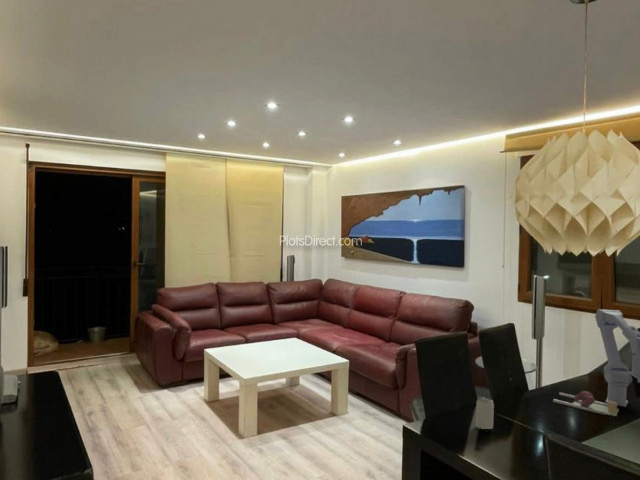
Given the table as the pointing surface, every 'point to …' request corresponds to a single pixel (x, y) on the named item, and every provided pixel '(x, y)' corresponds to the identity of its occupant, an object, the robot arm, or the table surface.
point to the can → (484, 413)
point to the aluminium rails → (579, 405)
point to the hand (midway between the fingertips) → (638, 394)
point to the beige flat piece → (603, 407)
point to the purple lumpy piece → (585, 398)
